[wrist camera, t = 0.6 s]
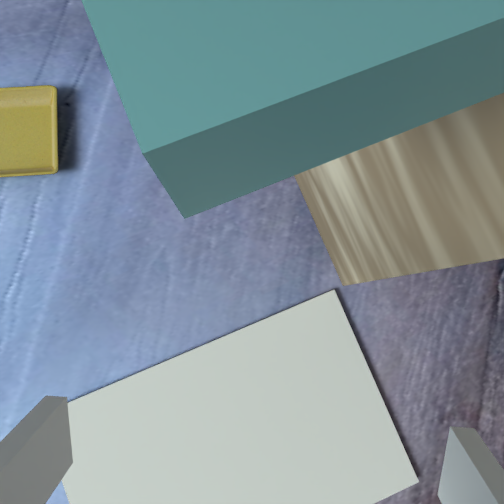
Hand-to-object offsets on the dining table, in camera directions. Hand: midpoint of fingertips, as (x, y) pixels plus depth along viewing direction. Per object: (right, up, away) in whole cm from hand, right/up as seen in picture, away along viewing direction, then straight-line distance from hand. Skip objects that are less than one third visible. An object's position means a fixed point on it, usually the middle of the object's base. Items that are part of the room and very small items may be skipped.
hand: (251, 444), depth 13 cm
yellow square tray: (-22, +17, +24) cm, 37 cm away
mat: (-2, -10, +21) cm, 23 cm away
